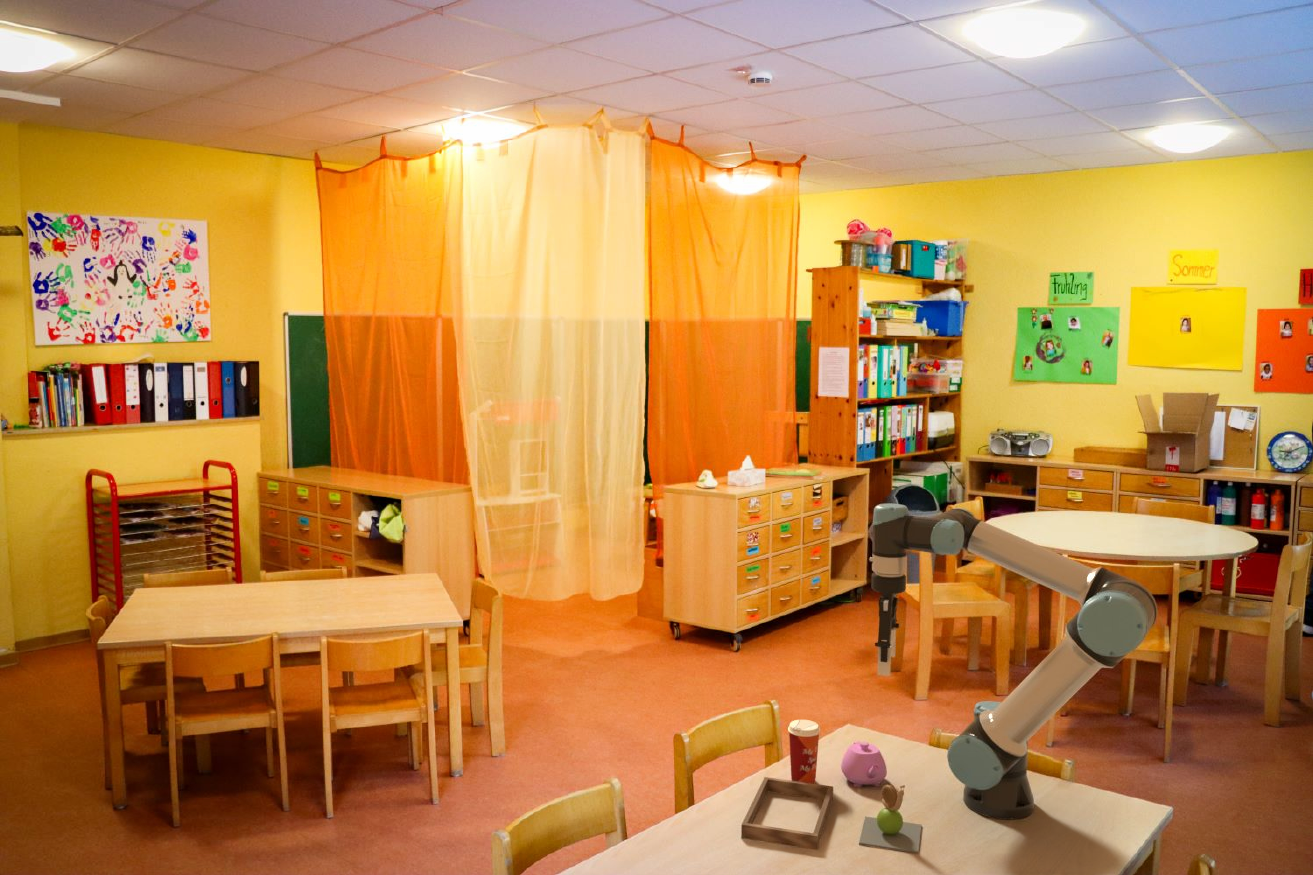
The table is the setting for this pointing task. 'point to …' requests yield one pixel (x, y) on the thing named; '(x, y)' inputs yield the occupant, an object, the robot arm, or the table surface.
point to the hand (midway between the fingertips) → (886, 665)
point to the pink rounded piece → (863, 764)
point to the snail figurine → (891, 810)
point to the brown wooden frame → (787, 835)
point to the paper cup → (803, 750)
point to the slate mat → (891, 836)
